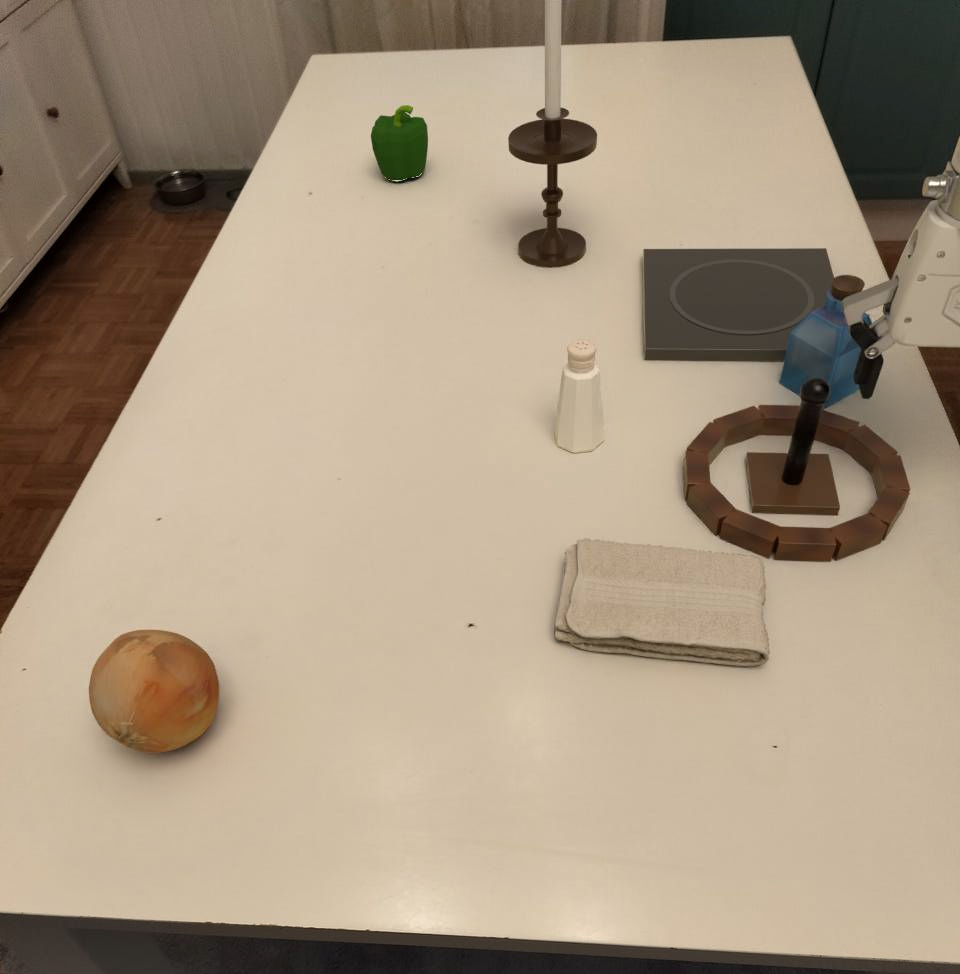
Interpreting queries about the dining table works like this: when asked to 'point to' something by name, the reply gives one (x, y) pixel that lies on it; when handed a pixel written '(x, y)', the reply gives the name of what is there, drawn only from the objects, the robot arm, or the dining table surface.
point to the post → (796, 465)
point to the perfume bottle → (825, 345)
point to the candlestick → (552, 155)
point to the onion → (154, 690)
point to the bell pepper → (400, 144)
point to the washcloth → (664, 603)
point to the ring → (795, 539)
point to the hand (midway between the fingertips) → (920, 391)
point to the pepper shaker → (580, 401)
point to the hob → (729, 301)
